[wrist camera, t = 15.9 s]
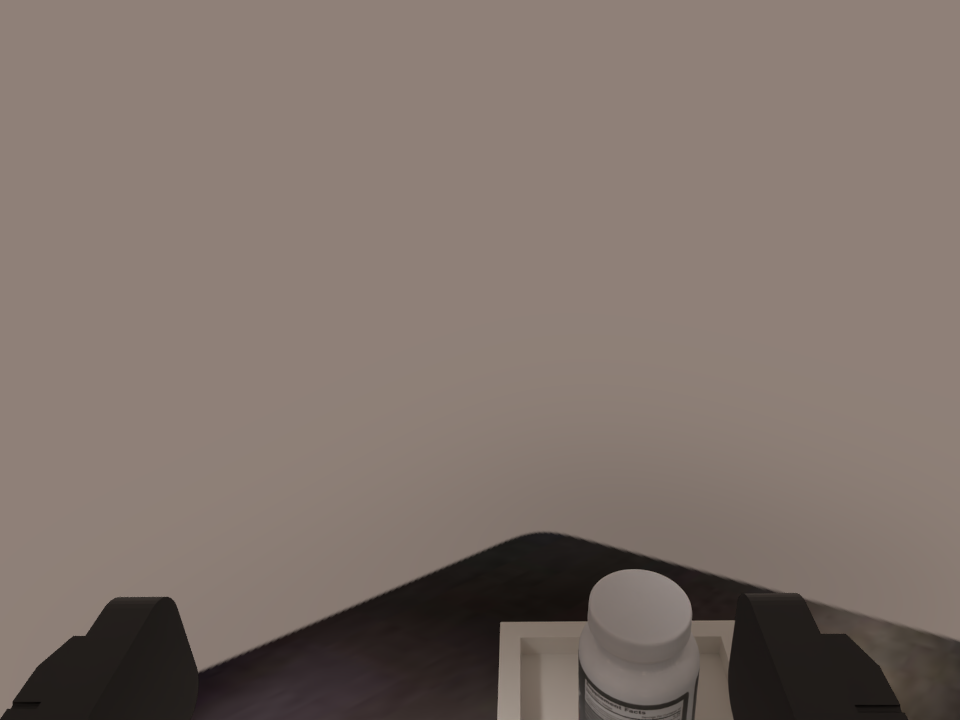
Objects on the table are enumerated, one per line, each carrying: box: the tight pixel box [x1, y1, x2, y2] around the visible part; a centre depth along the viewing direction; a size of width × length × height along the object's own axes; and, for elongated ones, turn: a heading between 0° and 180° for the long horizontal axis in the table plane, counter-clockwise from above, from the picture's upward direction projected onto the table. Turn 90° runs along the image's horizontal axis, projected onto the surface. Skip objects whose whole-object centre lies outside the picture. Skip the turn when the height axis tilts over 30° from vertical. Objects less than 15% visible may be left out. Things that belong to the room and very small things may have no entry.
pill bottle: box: [578, 569, 700, 720], centre depth 36 cm, size 6×6×10 cm
